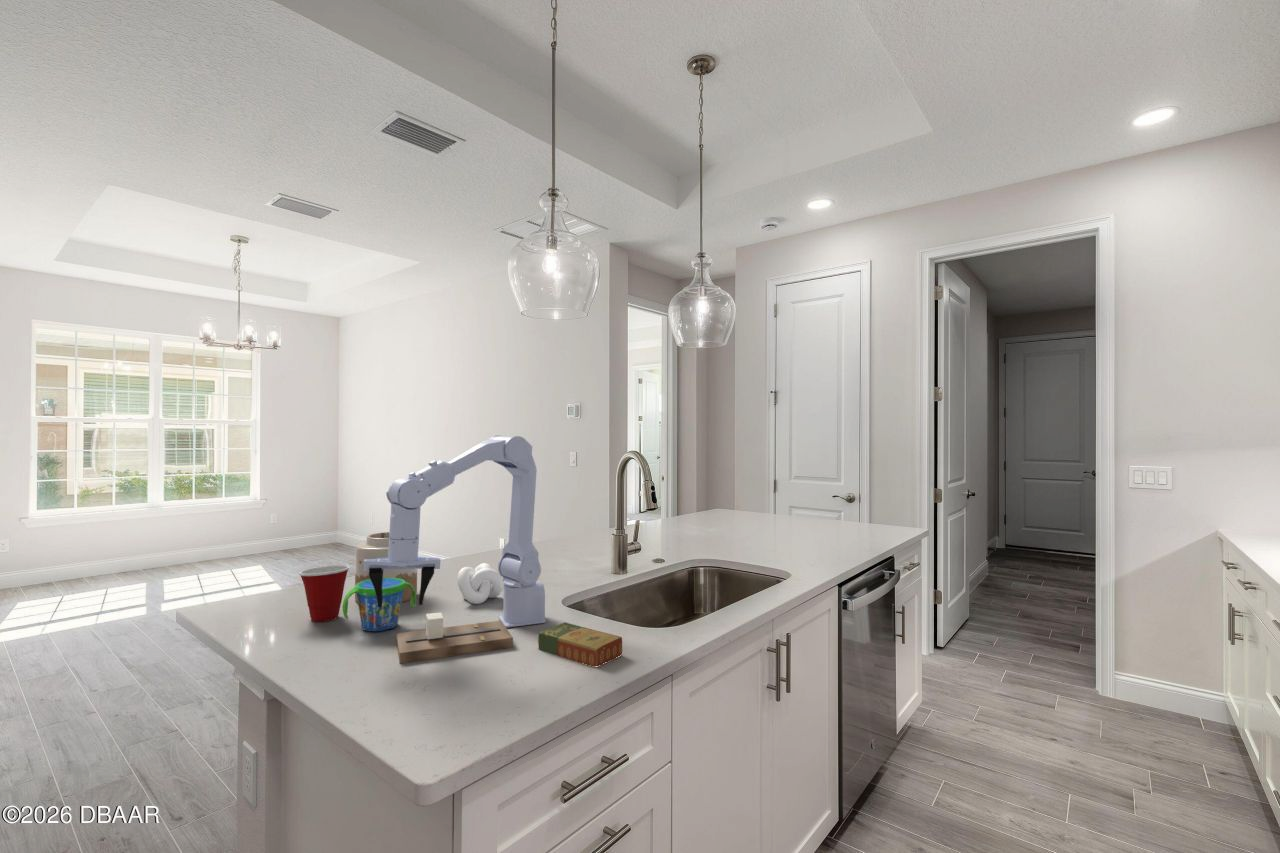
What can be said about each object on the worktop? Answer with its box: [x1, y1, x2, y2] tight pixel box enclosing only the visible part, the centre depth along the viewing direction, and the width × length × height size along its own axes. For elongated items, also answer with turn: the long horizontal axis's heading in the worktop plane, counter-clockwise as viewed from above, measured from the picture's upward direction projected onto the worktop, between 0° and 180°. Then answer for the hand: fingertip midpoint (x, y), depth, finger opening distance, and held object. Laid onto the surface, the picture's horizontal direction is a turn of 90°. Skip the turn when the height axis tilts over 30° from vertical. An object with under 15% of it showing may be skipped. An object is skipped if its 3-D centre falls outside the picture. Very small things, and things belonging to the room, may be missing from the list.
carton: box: [537, 622, 623, 667], centre depth 124 cm, size 8×16×4 cm, turn 54°
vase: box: [354, 531, 418, 604], centre depth 161 cm, size 15×15×17 cm
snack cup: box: [342, 578, 417, 632], centre depth 138 cm, size 16×10×10 cm
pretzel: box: [456, 562, 504, 605], centre depth 160 cm, size 11×12×9 cm
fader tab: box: [425, 612, 444, 639], centre depth 125 cm, size 3×4×4 cm
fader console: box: [396, 620, 514, 664], centre depth 127 cm, size 22×12×2 cm, turn 114°
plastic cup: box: [298, 564, 350, 623], centre depth 144 cm, size 11×11×12 cm
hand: (400, 604), depth 123 cm, fingers open, 7 cm apart
